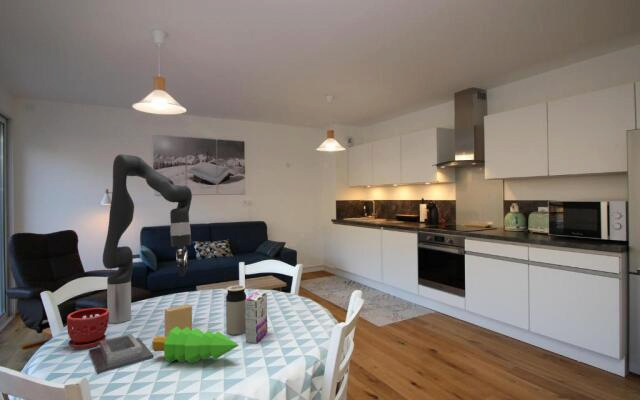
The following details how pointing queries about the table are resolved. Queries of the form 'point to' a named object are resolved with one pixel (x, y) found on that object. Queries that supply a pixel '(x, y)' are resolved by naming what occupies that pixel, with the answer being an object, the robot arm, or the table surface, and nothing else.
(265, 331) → the candy bar box
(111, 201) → the robot arm
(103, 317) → the plant pot
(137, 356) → the duct flange
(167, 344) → the decorative tree
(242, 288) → the travel mug
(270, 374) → the table surface
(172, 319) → the tan rectangular block
